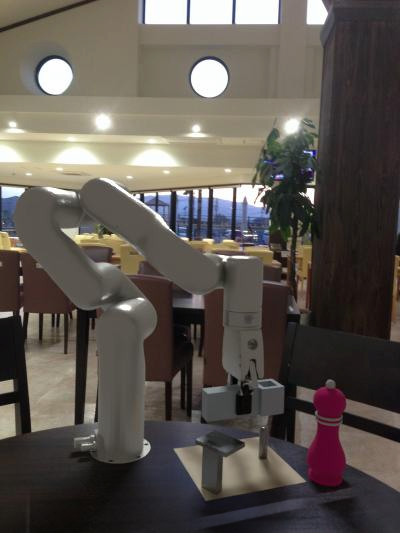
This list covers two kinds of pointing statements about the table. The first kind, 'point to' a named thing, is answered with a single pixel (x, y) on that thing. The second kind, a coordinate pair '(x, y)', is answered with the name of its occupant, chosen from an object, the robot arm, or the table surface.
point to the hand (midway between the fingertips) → (239, 409)
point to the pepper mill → (327, 437)
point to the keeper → (216, 458)
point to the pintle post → (263, 442)
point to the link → (224, 401)
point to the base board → (241, 470)
